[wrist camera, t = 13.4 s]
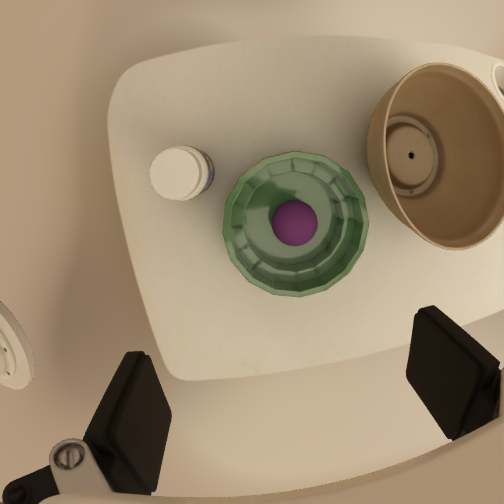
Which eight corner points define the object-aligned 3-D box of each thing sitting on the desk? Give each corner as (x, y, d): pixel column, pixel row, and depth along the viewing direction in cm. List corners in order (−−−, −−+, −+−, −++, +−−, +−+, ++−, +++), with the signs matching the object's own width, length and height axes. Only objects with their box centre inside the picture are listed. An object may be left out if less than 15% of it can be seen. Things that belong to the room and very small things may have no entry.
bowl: (200, 206, 31) (192, 214, 26) (303, 129, 29) (314, 123, 24) (277, 299, 34) (281, 321, 29) (371, 229, 32) (391, 241, 27)
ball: (260, 215, 31) (263, 223, 26) (295, 189, 30) (304, 192, 26) (286, 248, 32) (293, 261, 27) (320, 223, 31) (331, 232, 27)
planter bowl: (474, 165, 30) (534, 172, 19) (399, 252, 33) (451, 287, 22) (399, 61, 26) (452, 32, 16) (308, 147, 29) (340, 139, 19)
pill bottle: (219, 189, 30) (210, 197, 22) (175, 199, 31) (151, 211, 23) (209, 143, 29) (197, 136, 21) (165, 155, 29) (138, 152, 21)
